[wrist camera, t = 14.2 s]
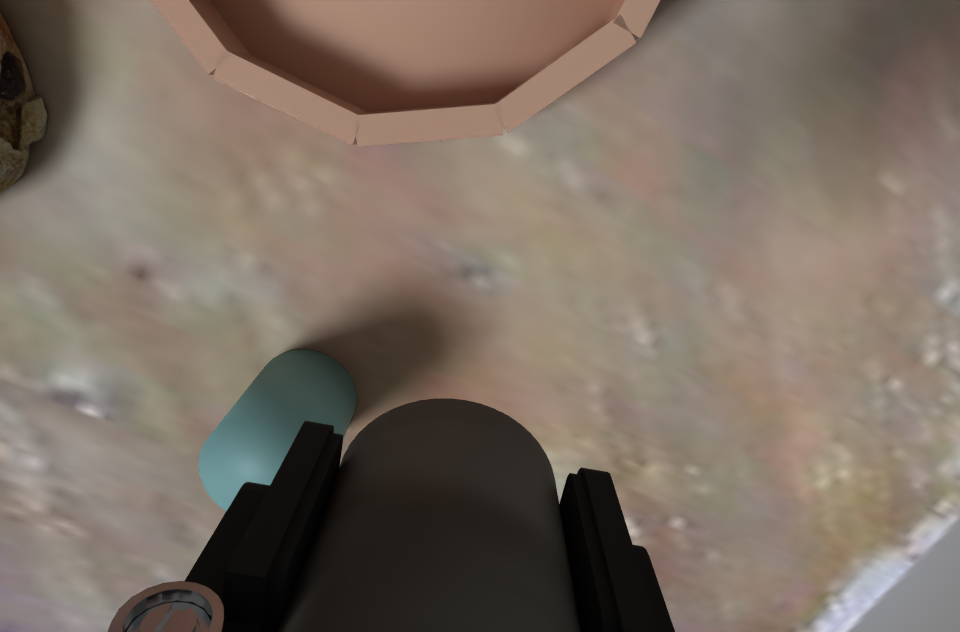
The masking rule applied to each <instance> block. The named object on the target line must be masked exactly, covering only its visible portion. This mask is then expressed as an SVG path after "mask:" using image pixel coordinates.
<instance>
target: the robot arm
mask: <svg viewBox="0 0 960 632" xmlns="http://www.w3.org/2000/svg"><path fill="white" fill-rule="evenodd" d="M342 444H343V435H342V434H336V433H334V426H333V425H328V424H322V423H316V422H310V421H304V423H303V424H302V426H301V428H300V430H299V432H298V434H297V436H296V438H295V439H294V441H293V443H292V445H291V447H290V449H289V451H288V453H287V455H286V456H285V458H284V460H283V462H282V464H281V466H280V468H279V470H278V471H277V473H276V475H275V477H274V479H273V481H272V483H271V485H265V484H259V483H252V482H246V483H244V484H243V485H242V487H241V488H240V490H239V491H238V493H237V495H236V496H235V498H234V500H233V501H232V503H231V505H230V506H229V508H228V510H227V511H226V513H225V515H224V516H223V518H222V520H221V521H220V523H219V525H218V526H217V528H216V530H215V531H214V533H213V535H212V536H211V538H210V540H209V541H208V543H207V545H206V546H205V548H204V550H203V551H202V553H201V555H200V556H199V558H198V560H197V561H196V563H195V565H194V566H193V568H192V570H191V571H190V573H189V575H188V576H187V578H186V580H185V581H177V582H168V583H162V584H159V585H156V586H153V587H150V588H147V589H145V590H143V591H142V592H140V593H138V594H136V595H135V596H133V597H131V598H130V599H129V600H128V601H127V602H126V603H125V604H124V605H123V606H122V607H121V608H119V610H118V612H117V613H116V615H115V617H114V618H113V620H112V622H111V624H110V627H109V629H108V632H278V629H279V627H280V624H281V622H282V619H283V616H284V614H285V611H286V608H287V606H288V603H289V600H290V598H291V595H292V592H293V590H294V587H295V584H296V582H297V579H298V576H299V574H300V571H301V568H302V566H303V563H304V561H305V558H306V555H307V553H308V550H309V547H310V545H311V542H312V539H313V537H314V534H315V531H316V529H317V526H318V523H319V521H320V518H321V515H322V513H323V510H324V507H325V505H326V502H327V500H328V497H329V494H330V492H331V489H332V486H333V484H334V481H335V478H336V476H337V473H338V470H339V466H340V458H341V451H342ZM559 506H560V512H561V518H562V524H563V529H564V535H565V541H566V547H567V553H568V558H569V564H570V570H571V576H572V581H573V587H574V593H575V599H576V605H577V610H578V616H579V622H580V628H581V632H675V630H674V628H673V625H672V622H671V619H670V616H669V613H668V610H667V607H666V604H665V601H664V598H663V595H662V592H661V589H660V587H659V584H658V581H657V578H656V575H655V572H654V569H653V566H652V563H651V560H650V557H649V555H648V553H647V551H646V549H645V548H644V547H642V546H637V545H632V542H631V539H630V535H629V532H628V529H627V526H626V523H625V519H624V516H623V513H622V510H621V507H620V503H619V500H618V497H617V494H616V491H615V488H614V484H613V481H612V478H611V475H610V473H608V472H604V471H598V470H592V469H586V468H580V469H579V471H578V473H577V474H572V473H570V474H569V475H568V477H567V480H566V483H565V487H564V490H563V494H562V497H561V501H560V504H559Z"/></svg>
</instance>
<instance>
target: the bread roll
mask: <svg viewBox="0 0 960 632" xmlns="http://www.w3.org/2000/svg"><path fill="white" fill-rule="evenodd" d="M47 117H48V115H47V113H46V110H45V106H44V103H43V99H42V97H40V96H36V94H35V92H34V89H33V87H32V84H31V79H30V76H29V73H28V70H27V67H26V64H25V62H24V59H23V57H22V55H21V52H20V50H19V48H18V47H17V45H16V43H15V41H14V40H13V38H12V35H11V32H10V29H9V28H8V26H7V24H6V22H5V20H4V18H3V16H2V14H1V12H0V193H1V192H3V191H4V190H6V189H7V188H9V187H10V186H12V185H13V184H14V183H15V182H16V181H17V180H18V179H19V178H20V177H21V176H22V174H23V172H24V169H25V167H26V164H27V162H28V158H29V154H30V144H31V143H33V142H36V141H39V140H40V139H41V138H43V137H44V136H45V131H46V123H47Z"/></svg>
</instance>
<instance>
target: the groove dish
mask: <svg viewBox="0 0 960 632" xmlns="http://www.w3.org/2000/svg"><path fill="white" fill-rule="evenodd" d="M151 2H152V3H153V4H154V6H155V7H156V8H157V9H158V11H159V12H160V13H161V15H162V16H163V17H164V18H165V20H166V21H167V22H168V24H169V25H170V26H171V27H172V29H173V30H174V31H175V33H176V34H177V35H178V37H179V38H180V39H181V40H182V42H183V43H184V44H185V46H186V47H187V48H188V49H189V51H190V52H191V53H192V55H193V56H194V57H195V58H196V60H197V61H198V62H199V64H200V65H201V66H202V68H203V69H204V70H205V71H206V73H207V74H208V75H214V76H213V79H215V80H217V81H219V82H221V83H223V84H225V85H227V86H229V87H231V88H234V89H236V90H238V91H240V92H242V93H244V94H246V95H248V96H250V97H252V98H254V99H256V100H258V101H261V102H263V103H265V104H267V105H269V106H271V107H273V108H275V109H277V110H279V111H281V112H283V113H286V114H288V115H290V116H292V117H294V118H296V119H298V120H300V121H302V122H304V123H306V124H308V125H310V126H313V127H315V128H317V129H319V130H321V131H323V132H325V133H327V134H329V135H331V136H333V137H335V138H337V139H340V140H342V141H344V142H346V143H348V144H350V145H354V144H357V147H358V146H371V145H384V144H396V143H409V142H422V141H435V140H447V139H460V138H473V137H485V136H498V135H503V134H502V125H503V127H504V128H505V130H506V131H507V133H509V132H510V131H512V130H513V129H515V128H516V127H517V126H519V125H520V124H522V123H523V122H525V121H526V120H527V119H529V118H530V117H532V116H533V115H535V114H536V113H537V112H539V111H540V110H542V109H543V108H544V107H546V106H547V105H549V104H550V103H552V102H553V101H554V100H556V99H557V98H559V97H560V96H562V95H563V94H564V93H566V92H567V91H569V90H570V89H572V88H573V87H574V86H576V85H577V84H579V83H580V82H582V81H583V80H584V79H586V78H587V77H589V76H590V75H591V74H593V73H594V72H596V71H597V70H599V69H600V68H601V67H603V66H604V65H606V64H607V63H609V62H610V61H611V60H613V59H614V58H616V57H617V56H619V55H620V54H621V53H623V52H624V51H626V50H627V49H629V48H630V47H631V46H633V45H634V44H636V41H635V40H636V39H639V38H641V37H642V35H643V33H644V31H645V29H646V27H647V25H648V23H649V21H650V19H651V17H652V16H653V14H654V12H655V10H656V8H657V6H658V4H659V2H660V0H151Z"/></svg>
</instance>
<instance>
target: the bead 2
mask: <svg viewBox="0 0 960 632" xmlns="http://www.w3.org/2000/svg"><path fill="white" fill-rule="evenodd" d="M278 632H581V628H580V622H579V616H578V610H577V605H576V599H575V593H574V587H573V581H572V576H571V570H570V564H569V558H568V553H567V547H566V541H565V535H564V529H563V524H562V518H561V512H560V506H559V500H558V495H557V489H556V483H555V478H554V474H553V470H552V467H551V464H550V462H549V460H548V457H547V455H546V453H545V452H544V450H543V449H542V447H541V446H540V444H539V443H538V441H537V440H536V439H535V438H534V437H533V436H532V434H531V433H530V432H529V431H527V430H526V429H525V428H524V427H523V426H522V425H521V424H520V423H518V422H517V421H515V420H514V419H512V418H511V417H509V416H508V415H506V414H504V413H502V412H500V411H498V410H496V409H494V408H491V407H488V406H485V405H483V404H479V403H475V402H471V401H467V400H458V399H429V400H420V401H416V402H412V403H408V404H405V405H402V406H399V407H397V408H394V409H392V410H390V411H388V412H386V413H384V414H382V415H380V416H379V417H378V418H376V419H375V420H373V421H372V422H370V423H369V424H368V425H367V426H366V427H365V428H364V429H363V430H362V431H360V432H359V433H358V435H357V436H356V437H355V438H354V440H353V441H352V442H351V444H350V445H349V447H348V449H347V451H346V452H345V454H344V456H343V459H342V462H341V464H340V467H339V470H338V473H337V476H336V478H335V481H334V484H333V486H332V489H331V492H330V494H329V497H328V500H327V502H326V505H325V507H324V510H323V513H322V515H321V518H320V521H319V523H318V526H317V529H316V531H315V534H314V537H313V539H312V542H311V545H310V547H309V550H308V553H307V555H306V558H305V561H304V563H303V566H302V568H301V571H300V574H299V576H298V579H297V582H296V584H295V587H294V590H293V592H292V595H291V598H290V600H289V603H288V606H287V608H286V611H285V614H284V616H283V619H282V622H281V624H280V627H279V629H278Z"/></svg>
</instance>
